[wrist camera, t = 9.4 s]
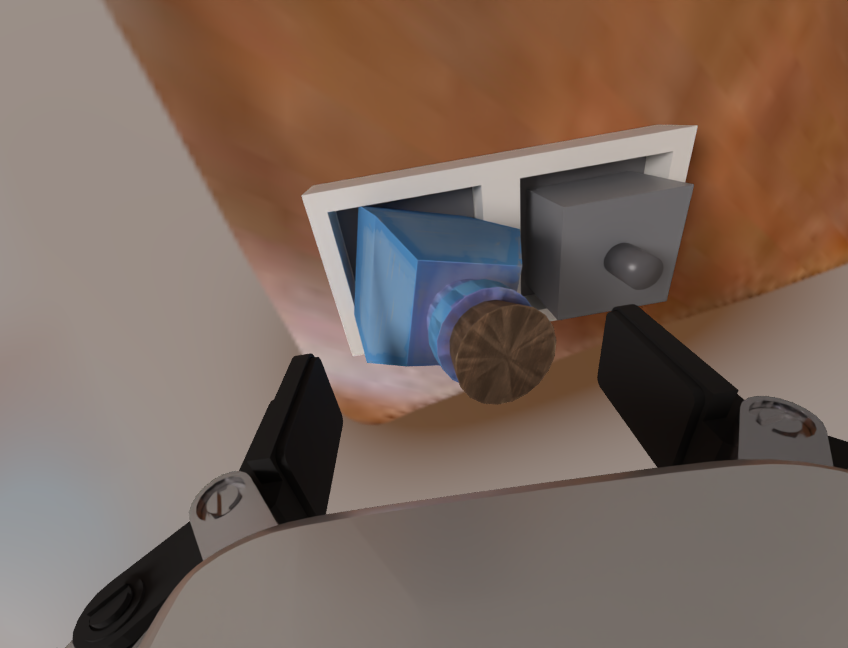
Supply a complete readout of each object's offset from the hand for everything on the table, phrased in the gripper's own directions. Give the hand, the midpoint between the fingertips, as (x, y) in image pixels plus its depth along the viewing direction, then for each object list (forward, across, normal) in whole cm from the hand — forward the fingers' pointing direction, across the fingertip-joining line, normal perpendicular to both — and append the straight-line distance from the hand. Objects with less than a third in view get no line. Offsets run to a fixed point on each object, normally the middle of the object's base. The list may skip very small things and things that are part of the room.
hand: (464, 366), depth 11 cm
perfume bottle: (+11, +2, 0) cm, 11 cm away
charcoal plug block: (+12, -9, 0) cm, 15 cm away
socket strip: (+13, -4, 0) cm, 13 cm away
